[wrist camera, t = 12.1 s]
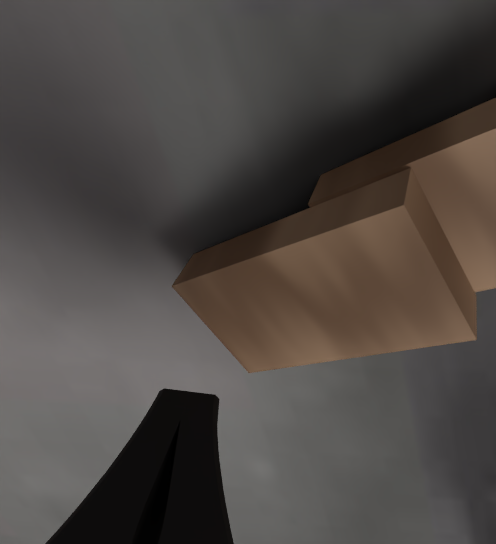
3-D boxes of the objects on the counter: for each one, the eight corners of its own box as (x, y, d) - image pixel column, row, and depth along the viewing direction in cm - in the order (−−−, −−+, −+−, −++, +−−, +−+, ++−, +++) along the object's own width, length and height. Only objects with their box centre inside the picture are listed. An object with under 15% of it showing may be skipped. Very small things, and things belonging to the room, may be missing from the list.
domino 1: (171, 286, 13) (403, 205, 9) (193, 254, 14) (411, 167, 10) (248, 373, 15) (476, 339, 10) (263, 338, 16) (476, 295, 11)
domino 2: (307, 204, 11) (674, 55, 7) (320, 175, 12) (648, 30, 8) (377, 312, 13) (709, 242, 9) (384, 278, 14) (685, 202, 10)
